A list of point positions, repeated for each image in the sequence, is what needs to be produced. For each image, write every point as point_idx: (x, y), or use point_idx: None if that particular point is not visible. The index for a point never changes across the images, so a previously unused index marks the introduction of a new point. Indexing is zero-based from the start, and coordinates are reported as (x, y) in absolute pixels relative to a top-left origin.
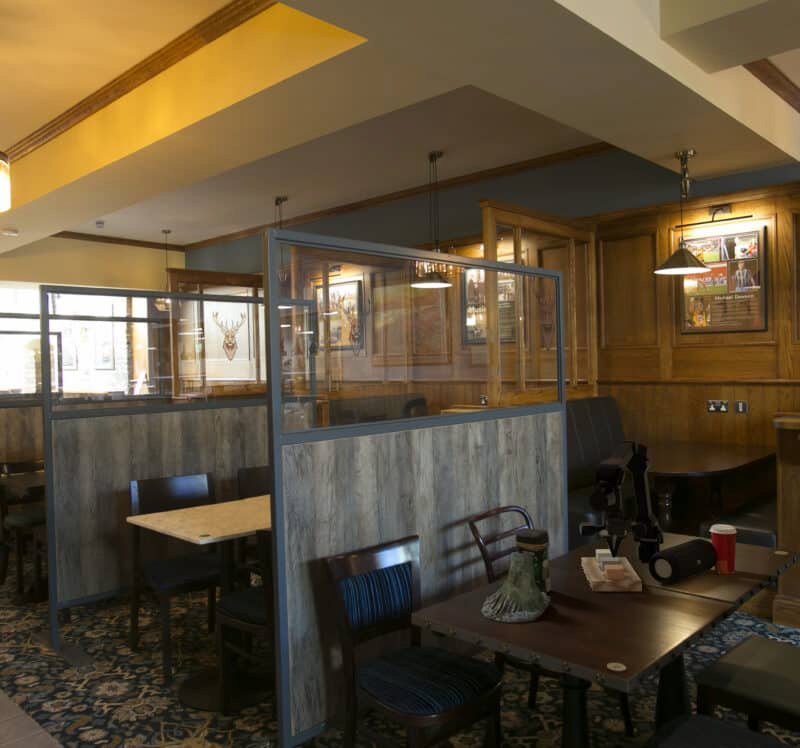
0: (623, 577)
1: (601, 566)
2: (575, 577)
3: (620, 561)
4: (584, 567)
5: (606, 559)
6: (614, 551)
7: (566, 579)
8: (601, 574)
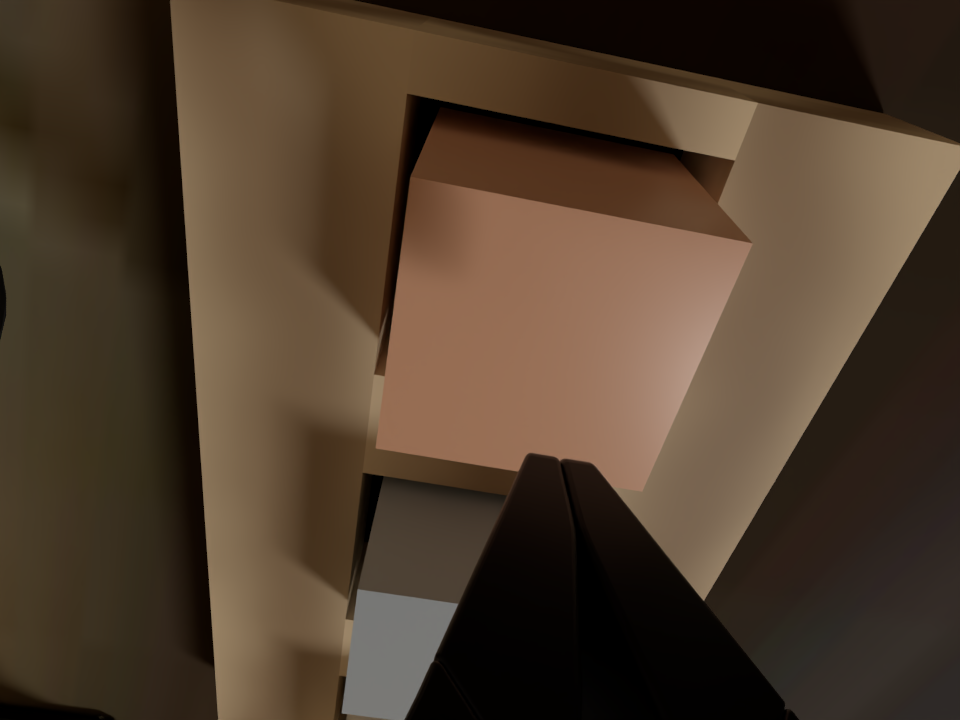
0: (446, 141)
1: None
2: (763, 558)
3: (288, 699)
4: None
5: None
6: (575, 562)
7: (877, 529)
8: None
